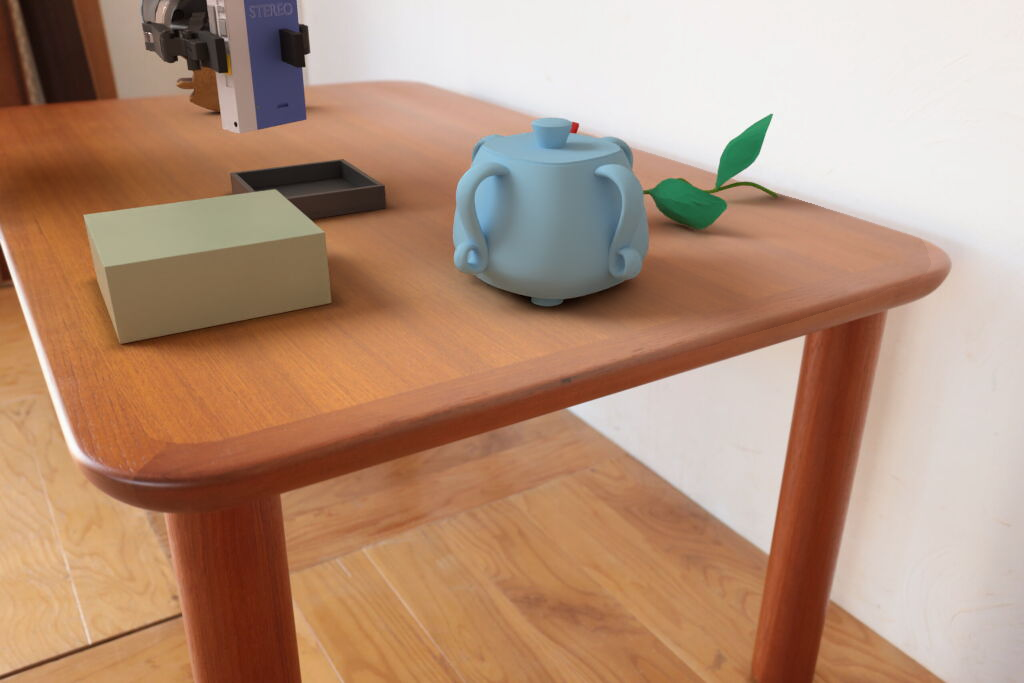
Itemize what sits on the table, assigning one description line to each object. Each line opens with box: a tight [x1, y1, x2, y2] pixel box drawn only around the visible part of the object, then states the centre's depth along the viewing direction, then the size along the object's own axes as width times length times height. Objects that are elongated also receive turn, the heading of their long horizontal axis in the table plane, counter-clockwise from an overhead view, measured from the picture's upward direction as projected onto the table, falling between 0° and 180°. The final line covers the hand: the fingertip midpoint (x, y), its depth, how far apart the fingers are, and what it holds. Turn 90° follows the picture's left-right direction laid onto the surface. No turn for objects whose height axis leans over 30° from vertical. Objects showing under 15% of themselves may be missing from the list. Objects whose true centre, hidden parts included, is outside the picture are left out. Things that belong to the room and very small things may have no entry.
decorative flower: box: [570, 113, 779, 231], centre depth 90 cm, size 14×30×10 cm, turn 104°
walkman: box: [207, 0, 308, 135], centre depth 80 cm, size 8×3×12 cm, turn 144°
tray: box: [229, 158, 387, 220], centre depth 98 cm, size 13×13×2 cm
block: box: [83, 189, 332, 345], centre depth 73 cm, size 14×16×6 cm
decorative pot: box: [452, 117, 650, 307], centre depth 74 cm, size 16×16×14 cm
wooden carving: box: [175, 67, 221, 113], centre depth 142 cm, size 16×5×10 cm, turn 114°
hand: (261, 53), depth 75 cm, fingers closed on walkman, 6 cm apart
